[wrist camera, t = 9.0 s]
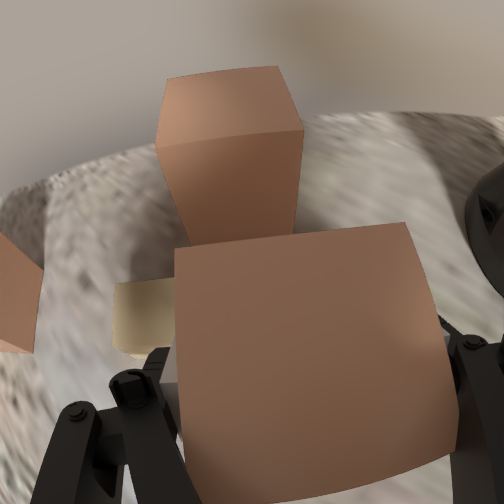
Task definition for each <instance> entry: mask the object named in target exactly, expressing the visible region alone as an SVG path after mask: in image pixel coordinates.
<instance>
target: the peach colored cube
mask: <svg viewBox="0 0 504 504" xmlns="http://www.w3.org/2000/svg"><path fill="white" fill-rule="evenodd" d="M303 138H304V128H303V125H302V123H301V120H300V118H299V115H298V113H297V110H296V108H295V105H294V103H293V100H292V98H291V95H290V93H289V91H288V89H287V86H286V83H285V81H284V79H283V76H282V74H281V72H280V70H279V67H278V66H266V67H252V68H241V69H232V70H223V71H215V72H208V73H201V74H195V75H188V76H182V77H177V78H172V79H167V83H166V88H165V93H164V98H163V103H162V109H161V113H160V118H159V124H158V130H157V135H156V142H155V151H156V154H157V157H158V160H159V162H160V165H161V168H162V171H163V173H164V176H165V179H166V181H167V184H168V187H169V189H170V192H171V195H172V197H173V200H174V202H175V205H176V208H177V210H178V213H179V215H180V218H181V220H182V223H183V226H184V228H185V231H186V233H187V236H188V238H189V241H190V243H191V245H192V246H198V245H206V244H214V243H222V242H231V241H239V240H247V239H256V238H264V237H273V236H282V235H290V234H293V230H294V222H295V213H296V205H297V196H298V187H299V178H300V168H301V158H302V148H303Z"/></svg>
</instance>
